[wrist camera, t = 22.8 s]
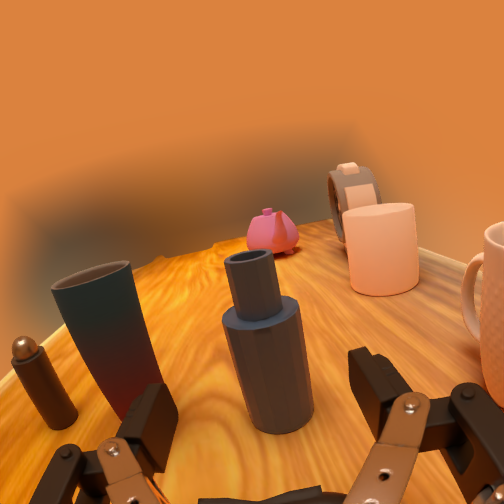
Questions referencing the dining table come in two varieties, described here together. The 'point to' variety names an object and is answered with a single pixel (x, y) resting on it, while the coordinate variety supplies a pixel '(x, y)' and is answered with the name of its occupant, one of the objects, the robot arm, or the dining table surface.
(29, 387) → the pepper mill
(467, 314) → the mug
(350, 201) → the alarm clock
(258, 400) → the bottle
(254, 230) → the teapot
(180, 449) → the dining table surface
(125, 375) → the cup
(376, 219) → the cup
